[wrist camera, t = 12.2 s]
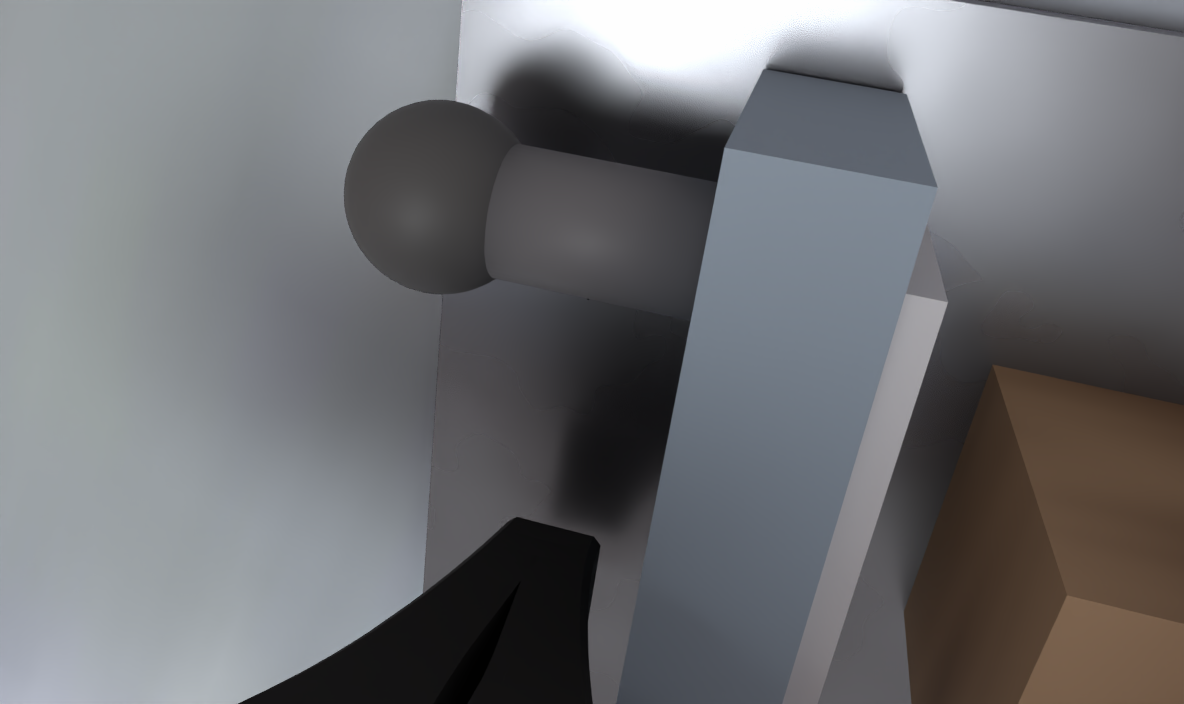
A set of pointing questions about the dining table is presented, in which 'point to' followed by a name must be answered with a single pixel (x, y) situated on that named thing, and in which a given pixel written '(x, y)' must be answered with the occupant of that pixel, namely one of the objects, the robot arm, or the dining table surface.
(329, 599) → the dining table surface
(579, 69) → the vise
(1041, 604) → the block
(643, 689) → the slide jaw
